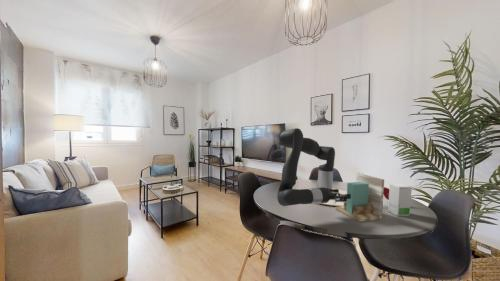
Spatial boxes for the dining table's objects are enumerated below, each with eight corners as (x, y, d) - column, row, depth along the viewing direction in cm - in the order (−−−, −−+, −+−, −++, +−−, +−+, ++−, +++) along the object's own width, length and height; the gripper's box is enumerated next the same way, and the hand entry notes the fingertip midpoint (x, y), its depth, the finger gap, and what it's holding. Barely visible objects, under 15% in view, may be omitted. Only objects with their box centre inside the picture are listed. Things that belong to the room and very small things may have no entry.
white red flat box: (378, 201, 130) (379, 186, 129) (413, 206, 123) (414, 189, 123) (379, 203, 127) (380, 187, 127) (414, 207, 121) (416, 191, 120)
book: (351, 213, 106) (353, 184, 105) (346, 210, 109) (347, 182, 109) (367, 211, 108) (368, 183, 108) (360, 208, 112) (362, 181, 112)
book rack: (358, 221, 99) (360, 181, 98) (335, 209, 115) (337, 173, 114) (381, 218, 104) (384, 179, 103) (356, 207, 119) (358, 173, 118)
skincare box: (397, 216, 107) (399, 187, 107) (386, 211, 114) (388, 183, 113) (410, 215, 109) (412, 186, 108) (399, 210, 116) (401, 183, 115)
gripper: (327, 192, 94) (355, 190, 99) (309, 184, 107) (334, 182, 112) (326, 208, 94) (354, 205, 99) (308, 198, 108) (334, 196, 113)
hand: (344, 193), depth 106 cm, fingers open, 8 cm apart
